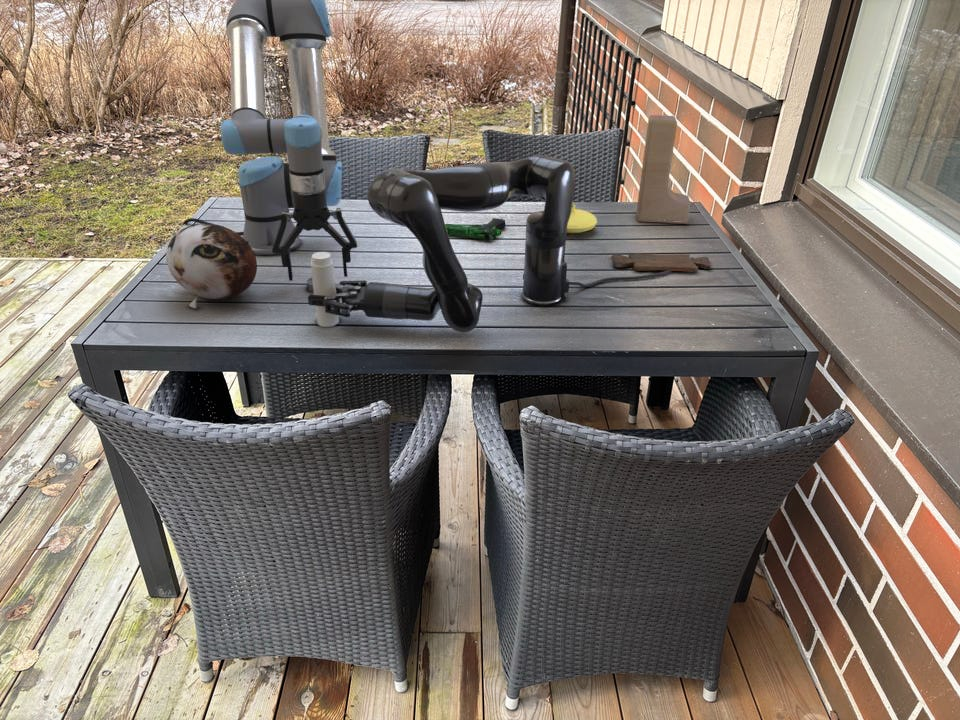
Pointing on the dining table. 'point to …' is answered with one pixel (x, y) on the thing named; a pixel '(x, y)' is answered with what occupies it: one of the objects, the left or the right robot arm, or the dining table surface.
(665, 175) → the decorative block
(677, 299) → the dining table surface
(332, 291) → the jar
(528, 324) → the dining table surface
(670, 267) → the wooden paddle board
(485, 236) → the handgun
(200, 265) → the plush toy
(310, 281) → the lid
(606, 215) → the dining table surface
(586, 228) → the yellow rounded piece
